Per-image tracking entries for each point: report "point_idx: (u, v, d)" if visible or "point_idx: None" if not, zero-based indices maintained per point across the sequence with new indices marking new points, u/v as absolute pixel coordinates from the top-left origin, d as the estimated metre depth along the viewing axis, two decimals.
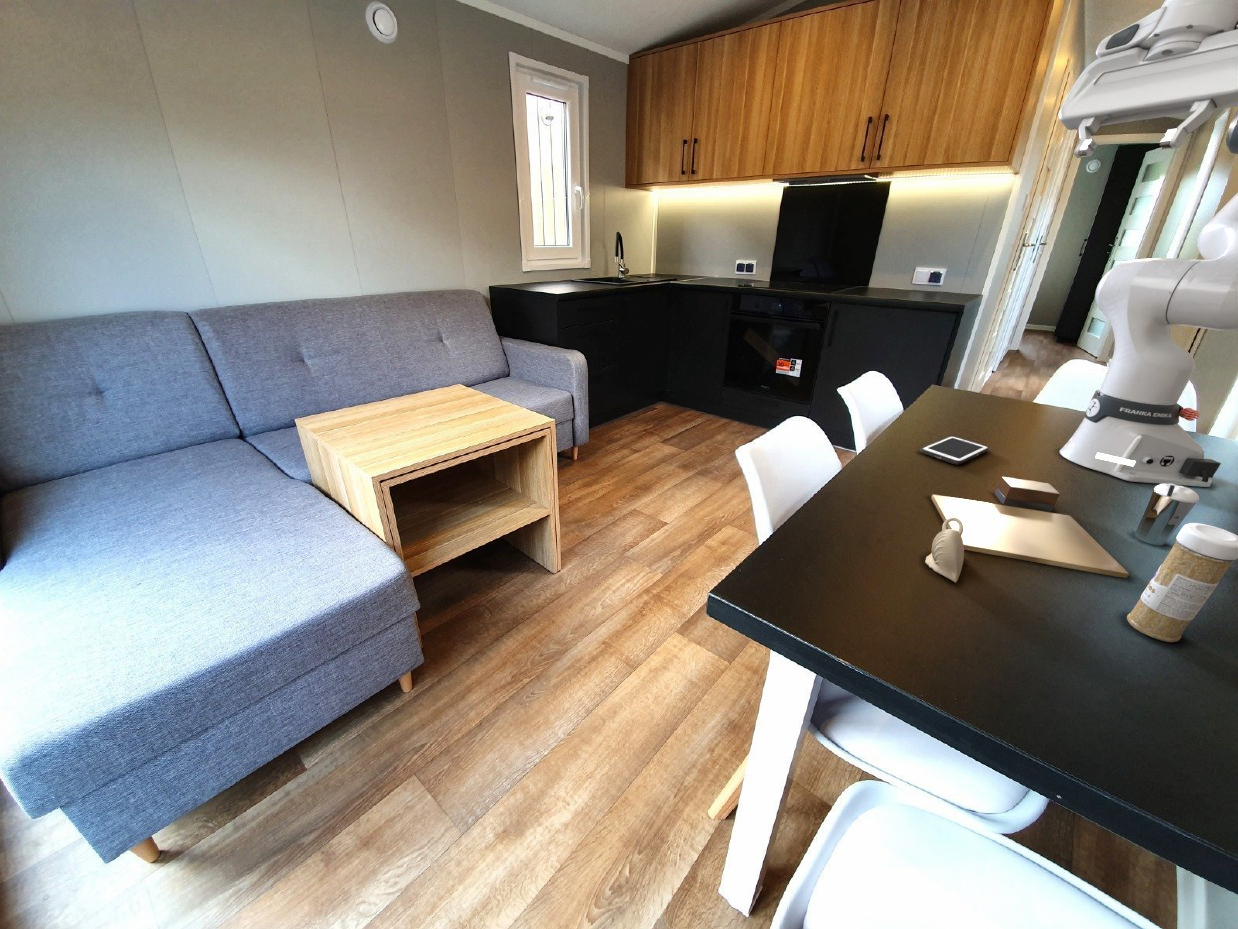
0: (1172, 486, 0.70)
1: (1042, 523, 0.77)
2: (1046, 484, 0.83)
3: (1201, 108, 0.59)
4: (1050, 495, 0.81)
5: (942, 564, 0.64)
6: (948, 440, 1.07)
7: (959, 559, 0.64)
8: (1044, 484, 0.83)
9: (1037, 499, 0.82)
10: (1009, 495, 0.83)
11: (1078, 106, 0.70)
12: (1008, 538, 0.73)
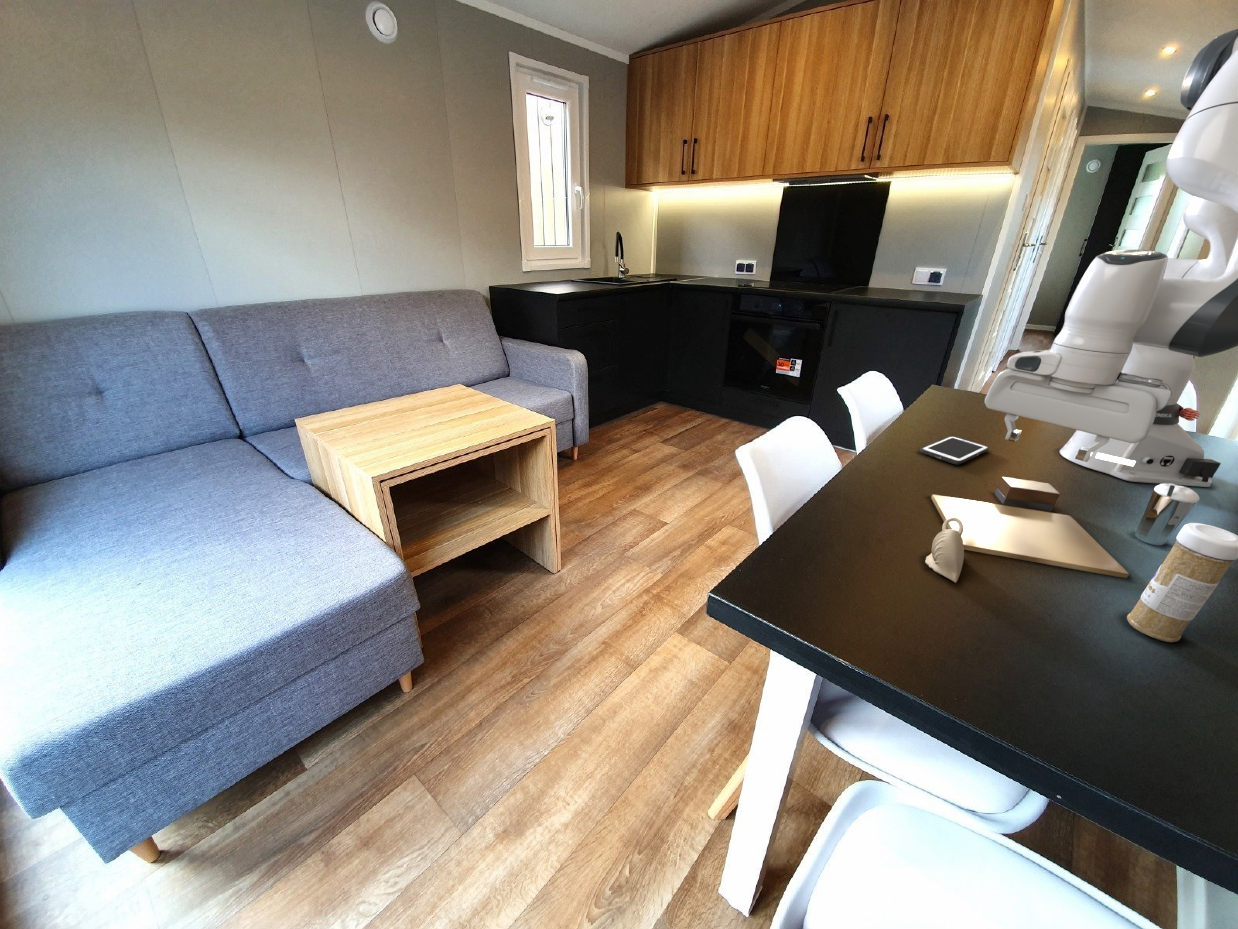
0: (1172, 486, 0.70)
1: (1042, 523, 0.77)
2: (1046, 484, 0.83)
3: (1103, 442, 0.74)
4: (1050, 495, 0.81)
5: (942, 564, 0.64)
6: (948, 440, 1.07)
7: (959, 559, 0.64)
8: (1044, 484, 0.83)
9: (1037, 499, 0.82)
10: (1009, 495, 0.83)
11: (1001, 403, 0.82)
12: (1008, 538, 0.73)
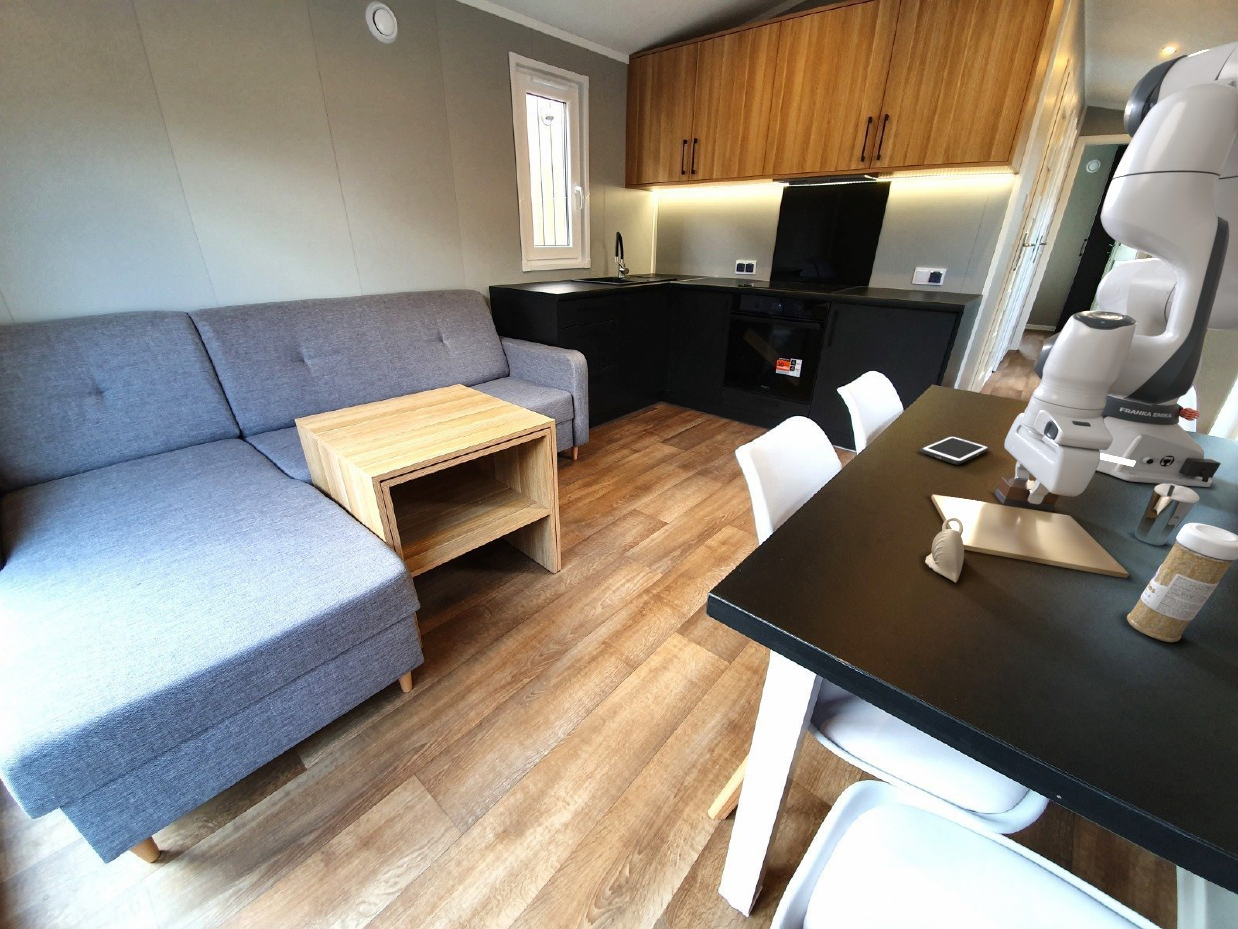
0: (1172, 486, 0.70)
1: (1042, 523, 0.77)
2: None
3: None
4: (1050, 495, 0.81)
5: (942, 564, 0.64)
6: (948, 440, 1.07)
7: (959, 559, 0.64)
8: None
9: None
10: (1009, 495, 0.83)
11: None
12: (1008, 538, 0.73)
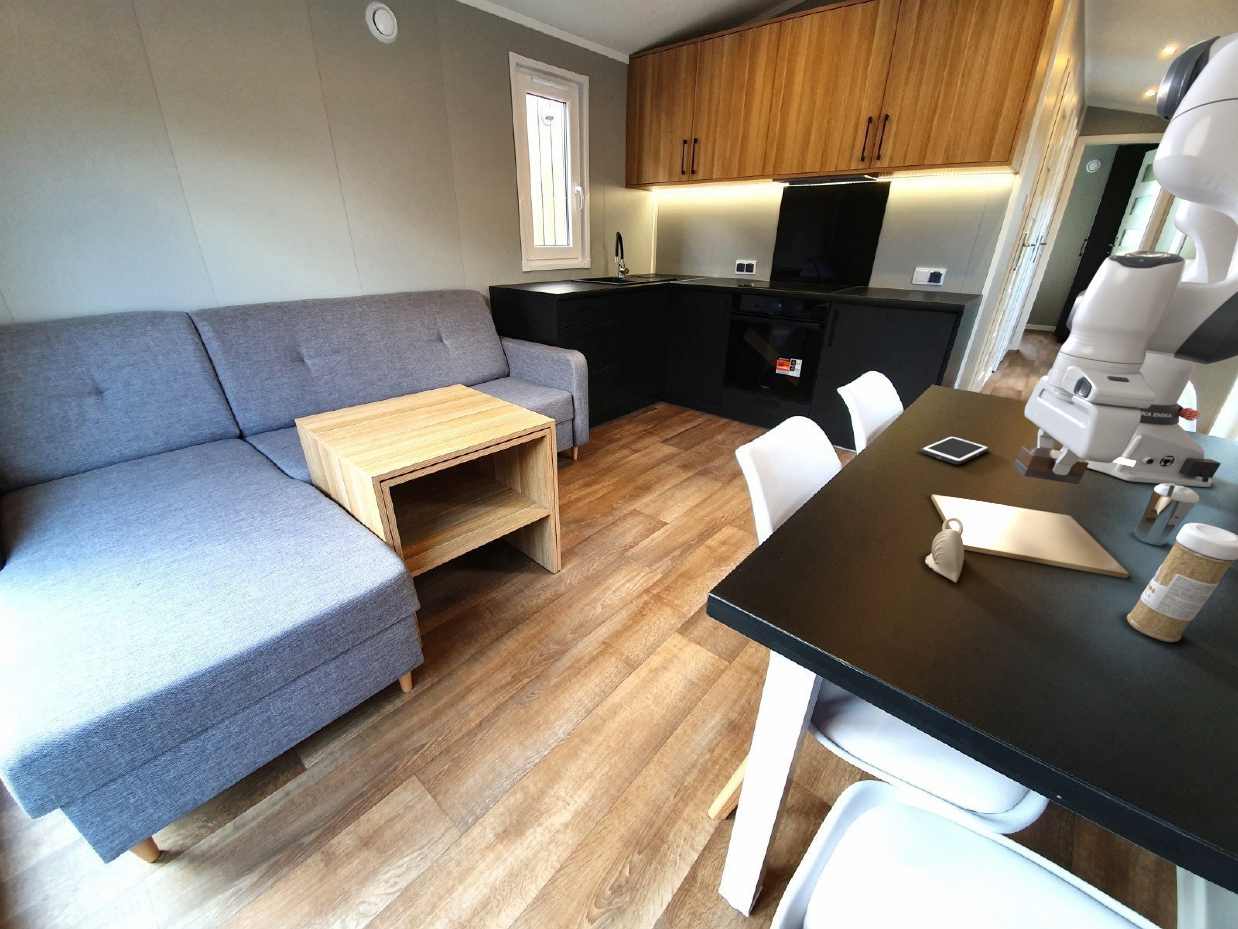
0: (1172, 486, 0.70)
1: (1042, 523, 0.77)
2: None
3: None
4: (1078, 464, 0.72)
5: (942, 564, 0.64)
6: (948, 440, 1.07)
7: (959, 559, 0.64)
8: None
9: None
10: (1031, 465, 0.74)
11: None
12: (1008, 538, 0.73)
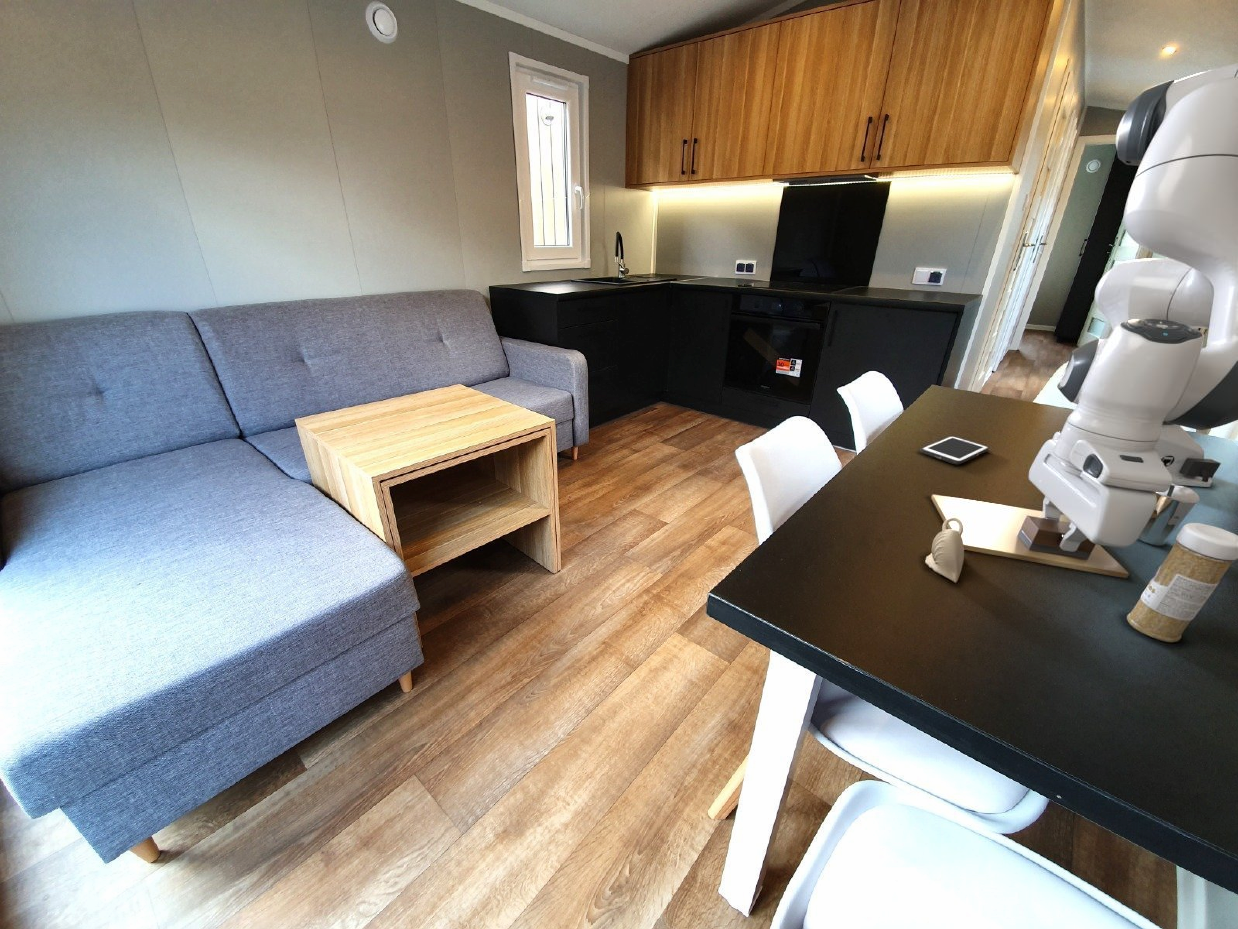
0: (1172, 486, 0.70)
1: None
2: None
3: None
4: (1087, 540, 0.67)
5: (942, 564, 0.64)
6: (948, 440, 1.07)
7: (959, 559, 0.64)
8: None
9: None
10: (1036, 539, 0.69)
11: None
12: (1008, 538, 0.73)
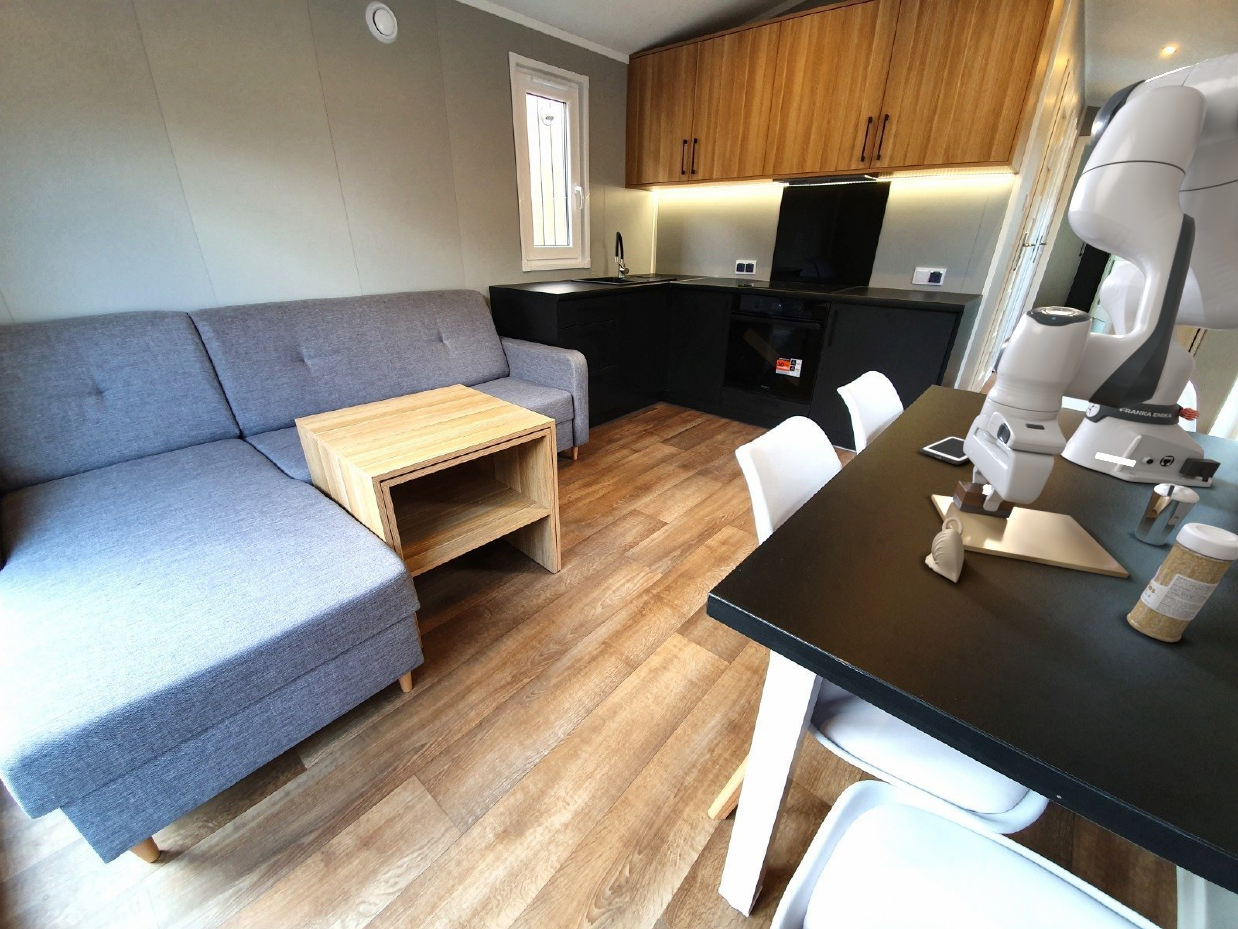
0: (1172, 486, 0.70)
1: (1042, 523, 0.77)
2: None
3: None
4: None
5: (942, 564, 0.64)
6: (948, 440, 1.07)
7: (959, 559, 0.64)
8: None
9: None
10: (965, 500, 0.78)
11: None
12: (1008, 538, 0.73)
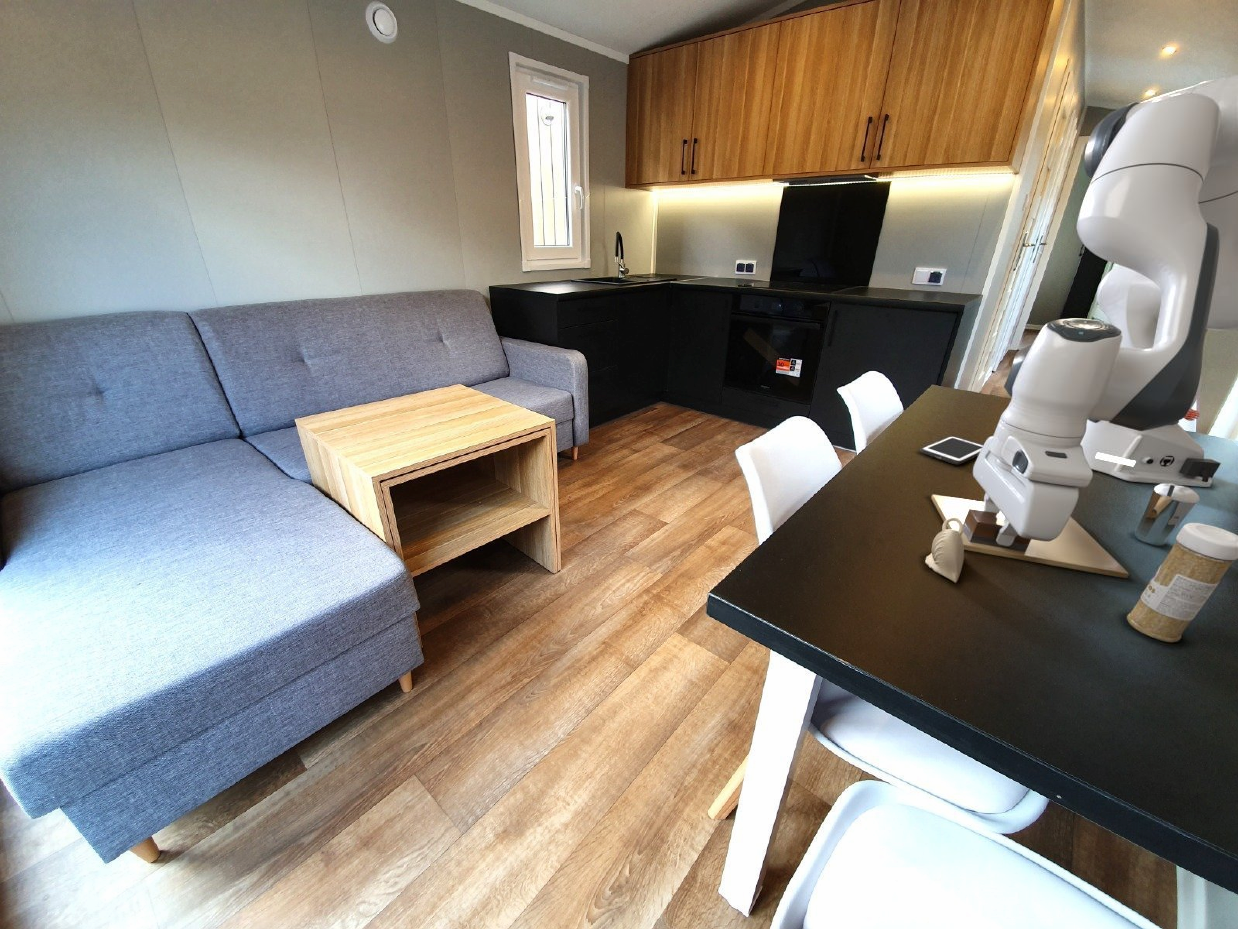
0: (1172, 486, 0.70)
1: None
2: None
3: None
4: None
5: (942, 564, 0.64)
6: (948, 440, 1.07)
7: (959, 559, 0.64)
8: None
9: None
10: (976, 531, 0.70)
11: None
12: None
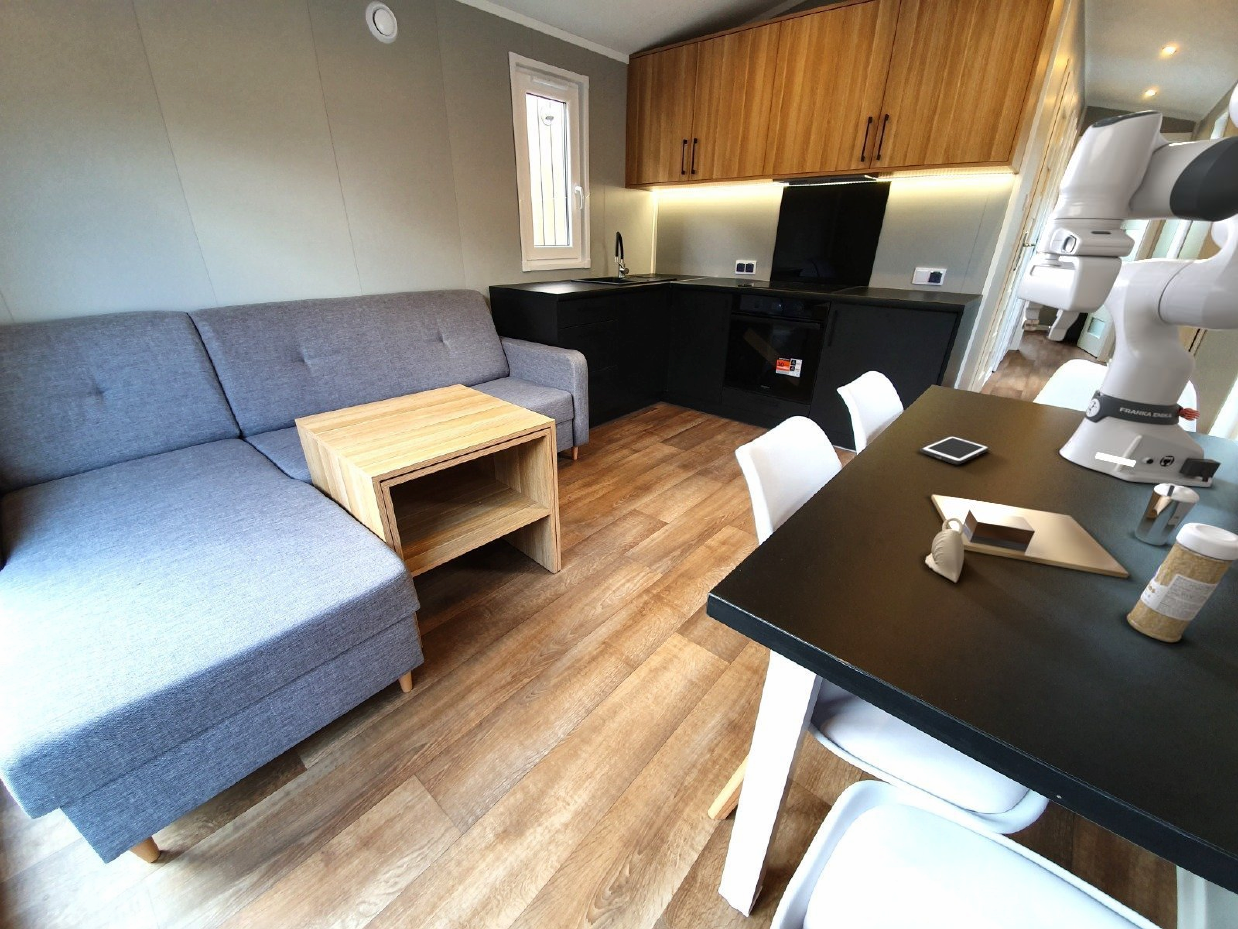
0: (1172, 486, 0.70)
1: (1042, 523, 0.77)
2: (1020, 518, 0.71)
3: None
4: (1024, 532, 0.68)
5: (942, 564, 0.64)
6: (948, 440, 1.07)
7: (959, 559, 0.64)
8: (1018, 518, 0.71)
9: (1009, 537, 0.69)
10: (976, 531, 0.70)
11: None
12: None
